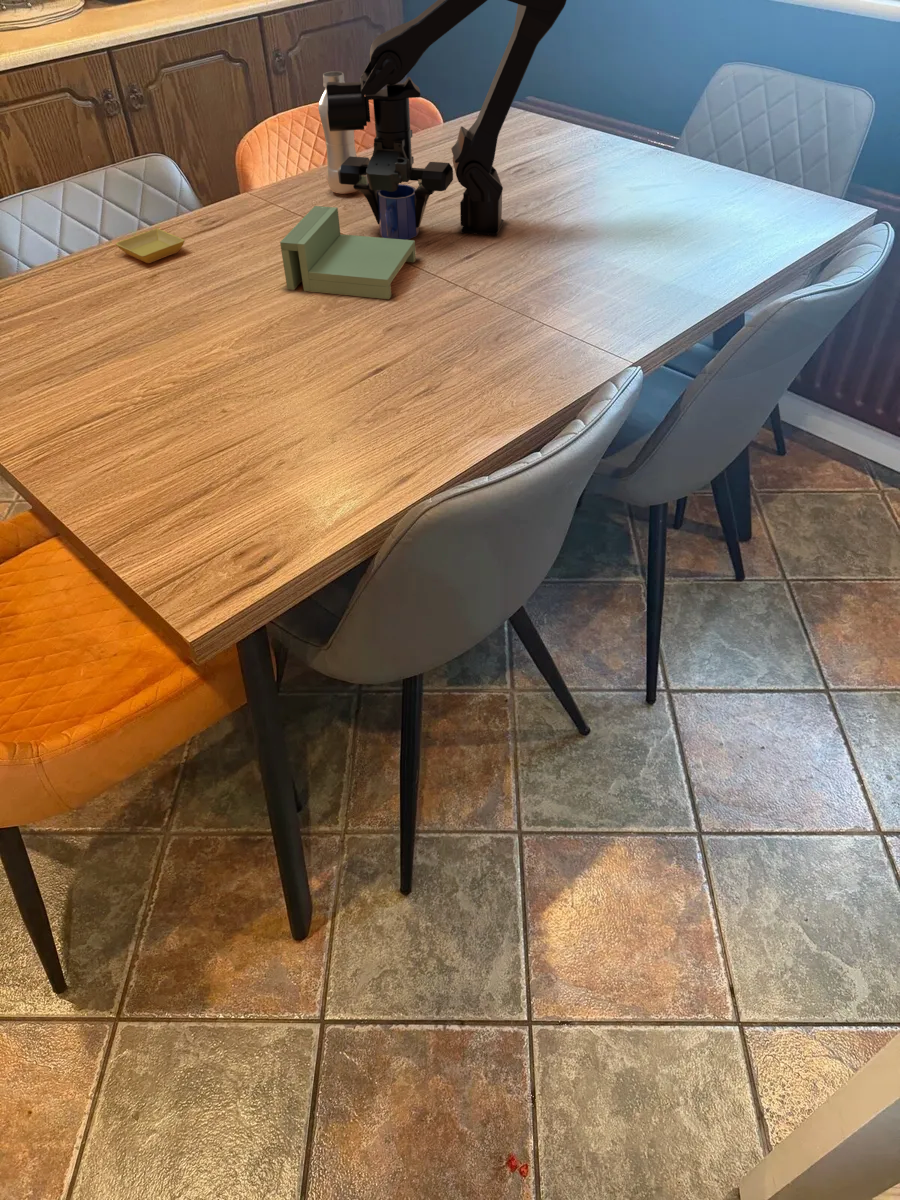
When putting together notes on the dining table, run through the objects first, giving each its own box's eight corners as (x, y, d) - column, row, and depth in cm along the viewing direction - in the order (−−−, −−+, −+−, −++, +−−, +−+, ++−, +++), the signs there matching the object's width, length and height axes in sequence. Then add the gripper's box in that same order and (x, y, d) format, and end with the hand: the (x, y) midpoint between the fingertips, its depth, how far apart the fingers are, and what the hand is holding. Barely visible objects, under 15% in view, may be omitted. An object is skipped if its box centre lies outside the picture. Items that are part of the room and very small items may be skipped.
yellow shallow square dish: (117, 254, 147) (113, 242, 146) (160, 239, 152) (157, 227, 150) (145, 268, 143) (142, 256, 142) (188, 252, 147) (185, 240, 146)
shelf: (415, 259, 144) (413, 213, 138) (389, 299, 133) (385, 251, 128) (320, 250, 147) (314, 205, 141) (287, 289, 137) (279, 242, 131)
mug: (422, 226, 153) (421, 185, 148) (408, 247, 147) (405, 205, 142) (387, 223, 154) (384, 183, 149) (371, 244, 148) (367, 202, 143)
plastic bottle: (357, 198, 163) (346, 79, 149) (323, 197, 164) (309, 78, 150) (366, 186, 168) (356, 69, 154) (333, 184, 169) (320, 68, 155)
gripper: (321, 140, 136) (333, 239, 147) (435, 147, 132) (438, 248, 143) (345, 118, 143) (354, 214, 154) (453, 125, 140) (454, 222, 151)
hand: (398, 225), depth 151 cm, fingers closed on mug, 7 cm apart
